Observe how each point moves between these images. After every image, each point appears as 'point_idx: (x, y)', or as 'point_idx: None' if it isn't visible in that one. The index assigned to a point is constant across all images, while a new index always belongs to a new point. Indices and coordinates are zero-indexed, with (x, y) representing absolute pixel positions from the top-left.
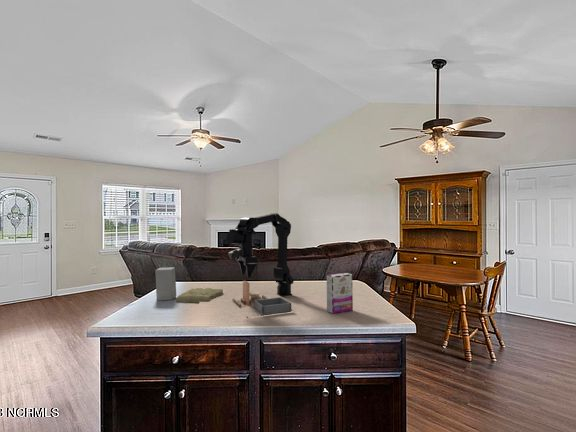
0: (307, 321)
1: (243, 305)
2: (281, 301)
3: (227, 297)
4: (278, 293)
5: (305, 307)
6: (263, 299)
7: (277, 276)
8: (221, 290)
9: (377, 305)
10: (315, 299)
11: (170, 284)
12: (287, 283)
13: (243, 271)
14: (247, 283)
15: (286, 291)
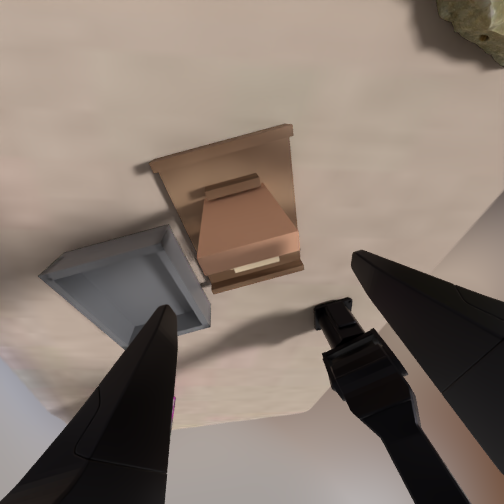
0: (41, 352)
1: (190, 183)
2: (190, 320)
3: (407, 95)
4: (332, 305)
5: (183, 348)
6: (176, 279)
7: (363, 361)
8: None
9: (195, 420)
10: (257, 362)
11: None
12: (324, 357)
13: (374, 285)
14: (199, 263)
15: (321, 328)
